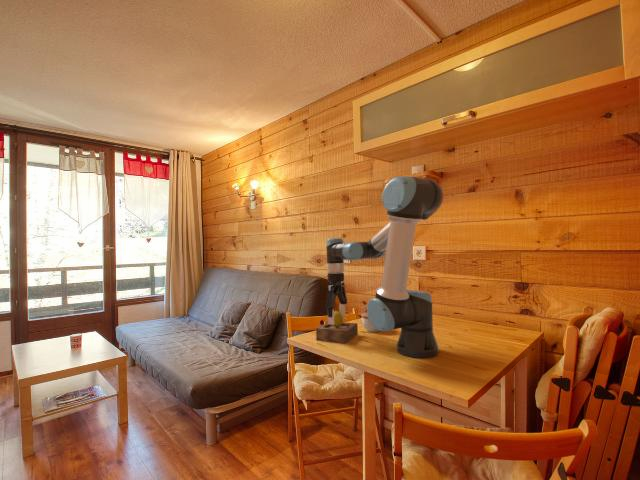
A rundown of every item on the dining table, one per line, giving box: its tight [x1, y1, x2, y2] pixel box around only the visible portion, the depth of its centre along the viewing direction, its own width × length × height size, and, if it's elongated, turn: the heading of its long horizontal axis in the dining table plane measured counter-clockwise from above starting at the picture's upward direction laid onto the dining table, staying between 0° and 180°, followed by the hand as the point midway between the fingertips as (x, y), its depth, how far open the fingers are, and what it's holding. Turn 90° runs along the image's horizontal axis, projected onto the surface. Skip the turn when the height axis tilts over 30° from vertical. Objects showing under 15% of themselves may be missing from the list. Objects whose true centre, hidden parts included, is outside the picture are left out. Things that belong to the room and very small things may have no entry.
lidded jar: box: [360, 311, 380, 333], centre depth 156 cm, size 11×11×9 cm
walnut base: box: [315, 321, 359, 344], centre depth 146 cm, size 14×14×5 cm
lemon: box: [333, 310, 344, 328], centre depth 146 cm, size 6×6×8 cm
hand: (337, 321), depth 146 cm, fingers open, 11 cm apart
